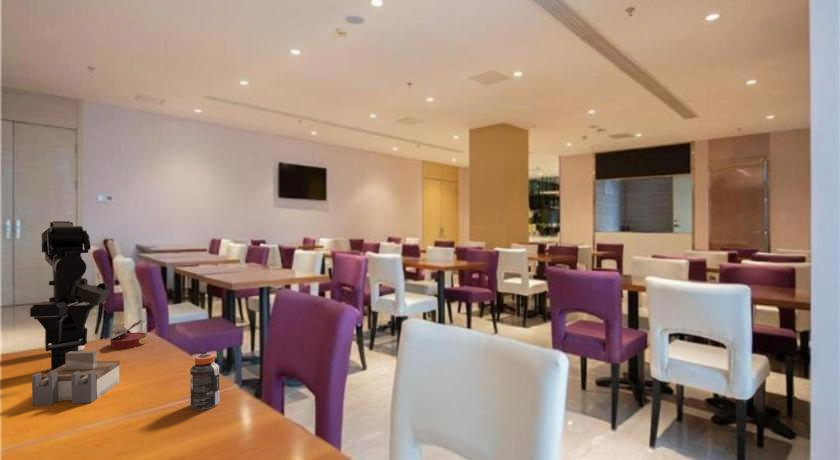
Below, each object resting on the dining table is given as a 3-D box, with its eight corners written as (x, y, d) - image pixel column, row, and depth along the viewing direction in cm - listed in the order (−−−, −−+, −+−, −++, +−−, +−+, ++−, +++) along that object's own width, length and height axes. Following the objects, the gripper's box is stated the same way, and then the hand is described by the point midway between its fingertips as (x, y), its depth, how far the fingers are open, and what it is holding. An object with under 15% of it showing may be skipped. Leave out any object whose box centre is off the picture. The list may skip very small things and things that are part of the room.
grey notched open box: (67, 385, 111) (67, 358, 110) (119, 382, 113) (119, 356, 112) (32, 406, 99) (31, 376, 98) (91, 402, 100) (90, 373, 100)
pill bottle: (225, 401, 102) (225, 353, 101) (205, 412, 96) (204, 361, 96) (205, 397, 104) (204, 350, 103) (184, 408, 98) (183, 358, 98)
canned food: (126, 363, 141) (112, 340, 136) (111, 355, 146) (96, 332, 141) (159, 340, 149) (146, 317, 144) (143, 333, 154) (130, 310, 149)
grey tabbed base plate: (67, 367, 111) (67, 347, 110) (119, 365, 112) (119, 345, 112) (31, 386, 98) (31, 363, 98) (90, 383, 100) (90, 361, 100)
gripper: (80, 280, 103) (81, 346, 103) (121, 270, 121) (122, 326, 122) (27, 281, 101) (28, 348, 102) (77, 271, 119) (78, 328, 120)
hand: (69, 336), depth 111 cm, fingers open, 9 cm apart
